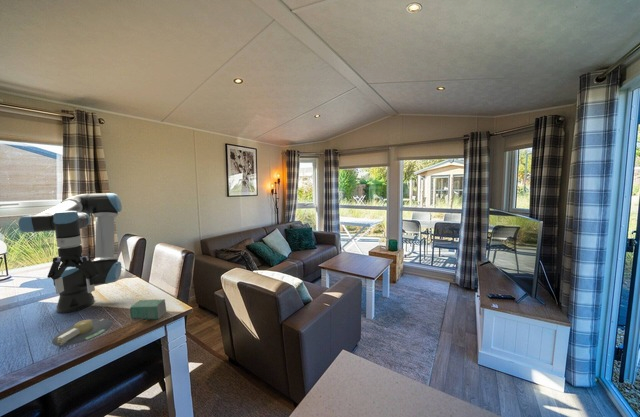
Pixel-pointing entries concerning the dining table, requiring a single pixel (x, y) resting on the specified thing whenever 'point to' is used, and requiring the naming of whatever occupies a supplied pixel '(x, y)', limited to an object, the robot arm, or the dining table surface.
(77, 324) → the round-headed handle
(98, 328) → the plate
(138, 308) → the box
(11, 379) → the dining table surface
